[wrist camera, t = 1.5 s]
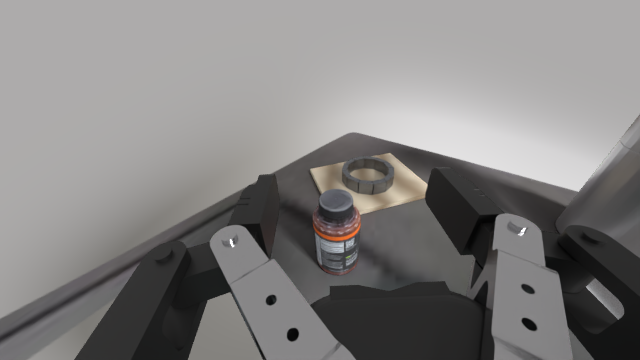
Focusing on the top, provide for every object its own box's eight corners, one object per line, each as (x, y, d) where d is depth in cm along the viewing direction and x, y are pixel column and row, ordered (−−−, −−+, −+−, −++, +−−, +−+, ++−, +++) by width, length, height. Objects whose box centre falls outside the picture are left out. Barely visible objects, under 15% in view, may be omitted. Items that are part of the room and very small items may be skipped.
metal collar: (377, 162, 51) (378, 153, 50) (402, 187, 43) (404, 177, 42) (335, 171, 49) (335, 161, 48) (354, 199, 41) (354, 188, 40)
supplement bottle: (328, 236, 36) (326, 178, 29) (364, 251, 33) (370, 190, 27) (308, 265, 32) (300, 205, 25) (347, 285, 29) (349, 223, 23)
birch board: (389, 156, 55) (389, 152, 55) (434, 195, 42) (435, 191, 42) (310, 172, 51) (310, 168, 50) (334, 221, 38) (333, 217, 38)
